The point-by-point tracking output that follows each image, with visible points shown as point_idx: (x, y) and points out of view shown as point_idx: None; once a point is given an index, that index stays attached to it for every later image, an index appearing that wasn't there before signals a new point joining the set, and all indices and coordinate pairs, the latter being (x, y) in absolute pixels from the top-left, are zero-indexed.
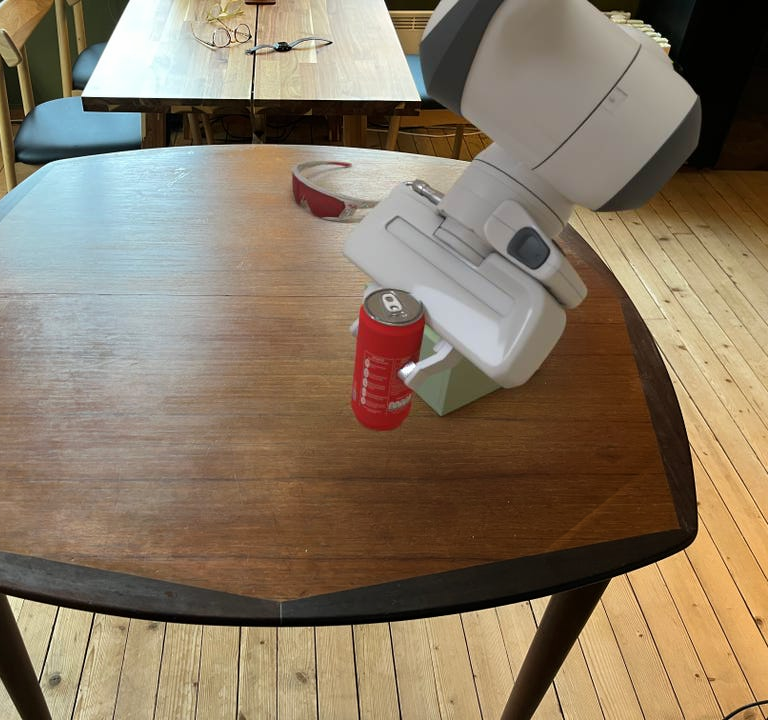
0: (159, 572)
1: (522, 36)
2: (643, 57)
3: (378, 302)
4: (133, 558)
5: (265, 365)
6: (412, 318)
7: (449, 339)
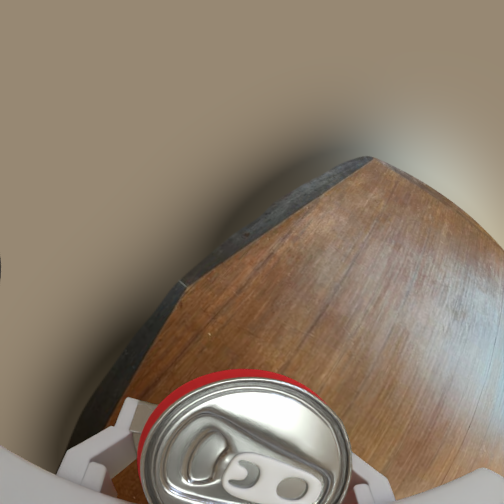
0: (266, 239)
1: None
2: None
3: (299, 447)
4: (286, 233)
5: (400, 425)
6: (156, 475)
7: (52, 478)
